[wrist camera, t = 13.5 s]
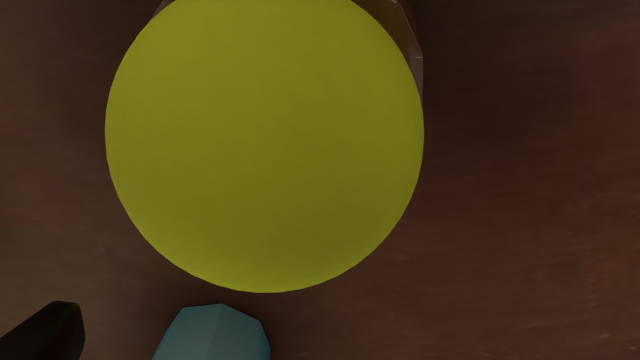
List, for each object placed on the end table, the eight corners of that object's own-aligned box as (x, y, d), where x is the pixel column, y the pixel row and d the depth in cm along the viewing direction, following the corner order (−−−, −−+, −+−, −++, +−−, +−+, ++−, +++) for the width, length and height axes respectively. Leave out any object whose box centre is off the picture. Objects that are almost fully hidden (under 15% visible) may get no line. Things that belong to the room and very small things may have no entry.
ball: (382, 48, 17) (439, -115, 10) (407, 279, 15) (491, 278, 9) (151, 62, 16) (43, -95, 9) (158, 299, 15) (38, 316, 8)
